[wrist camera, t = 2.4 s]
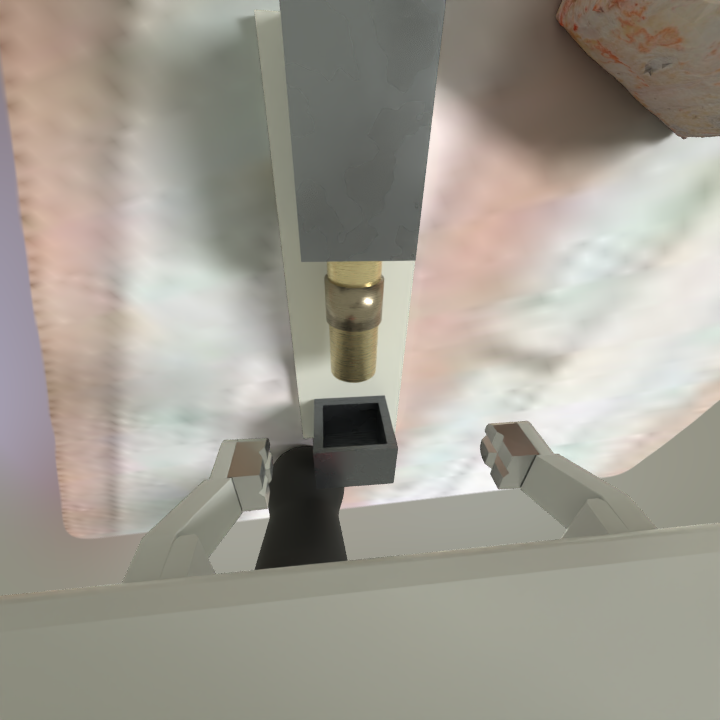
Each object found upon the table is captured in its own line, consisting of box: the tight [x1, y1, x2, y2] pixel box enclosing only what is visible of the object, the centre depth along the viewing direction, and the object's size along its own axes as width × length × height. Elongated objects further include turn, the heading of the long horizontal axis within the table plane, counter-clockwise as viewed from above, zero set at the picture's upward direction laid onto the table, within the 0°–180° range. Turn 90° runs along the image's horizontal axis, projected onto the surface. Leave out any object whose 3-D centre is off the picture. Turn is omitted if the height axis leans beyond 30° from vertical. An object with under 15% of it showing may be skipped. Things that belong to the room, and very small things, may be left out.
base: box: [254, 10, 415, 438], centre depth 26 cm, size 32×10×1 cm, turn 179°
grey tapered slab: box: [279, 0, 446, 262], centre depth 17 cm, size 11×6×6 cm, turn 179°
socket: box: [313, 395, 398, 489], centre depth 31 cm, size 5×7×7 cm
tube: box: [324, 261, 384, 383], centre depth 20 cm, size 20×4×4 cm, turn 179°
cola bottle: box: [255, 447, 348, 570], centre depth 26 cm, size 8×8×30 cm
